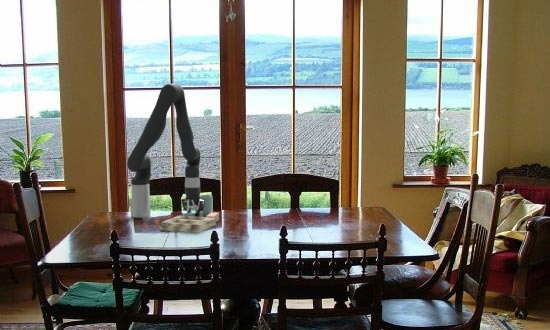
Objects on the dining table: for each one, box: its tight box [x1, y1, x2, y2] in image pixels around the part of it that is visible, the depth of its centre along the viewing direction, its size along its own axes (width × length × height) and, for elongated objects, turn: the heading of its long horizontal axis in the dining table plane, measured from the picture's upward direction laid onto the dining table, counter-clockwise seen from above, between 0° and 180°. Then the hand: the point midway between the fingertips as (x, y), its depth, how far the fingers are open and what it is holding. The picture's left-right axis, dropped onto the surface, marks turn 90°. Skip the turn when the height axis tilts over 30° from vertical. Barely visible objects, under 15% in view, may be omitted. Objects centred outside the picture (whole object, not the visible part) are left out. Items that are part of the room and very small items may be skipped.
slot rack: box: [160, 214, 217, 234], centre depth 261 cm, size 20×17×4 cm
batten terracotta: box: [205, 211, 220, 223], centre depth 273 cm, size 10×4×4 cm, turn 171°
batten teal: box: [182, 210, 204, 217], centre depth 277 cm, size 10×4×4 cm, turn 142°
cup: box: [200, 194, 214, 216], centre depth 291 cm, size 8×8×10 cm
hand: (193, 219), depth 277 cm, fingers closed on batten teal, 4 cm apart
